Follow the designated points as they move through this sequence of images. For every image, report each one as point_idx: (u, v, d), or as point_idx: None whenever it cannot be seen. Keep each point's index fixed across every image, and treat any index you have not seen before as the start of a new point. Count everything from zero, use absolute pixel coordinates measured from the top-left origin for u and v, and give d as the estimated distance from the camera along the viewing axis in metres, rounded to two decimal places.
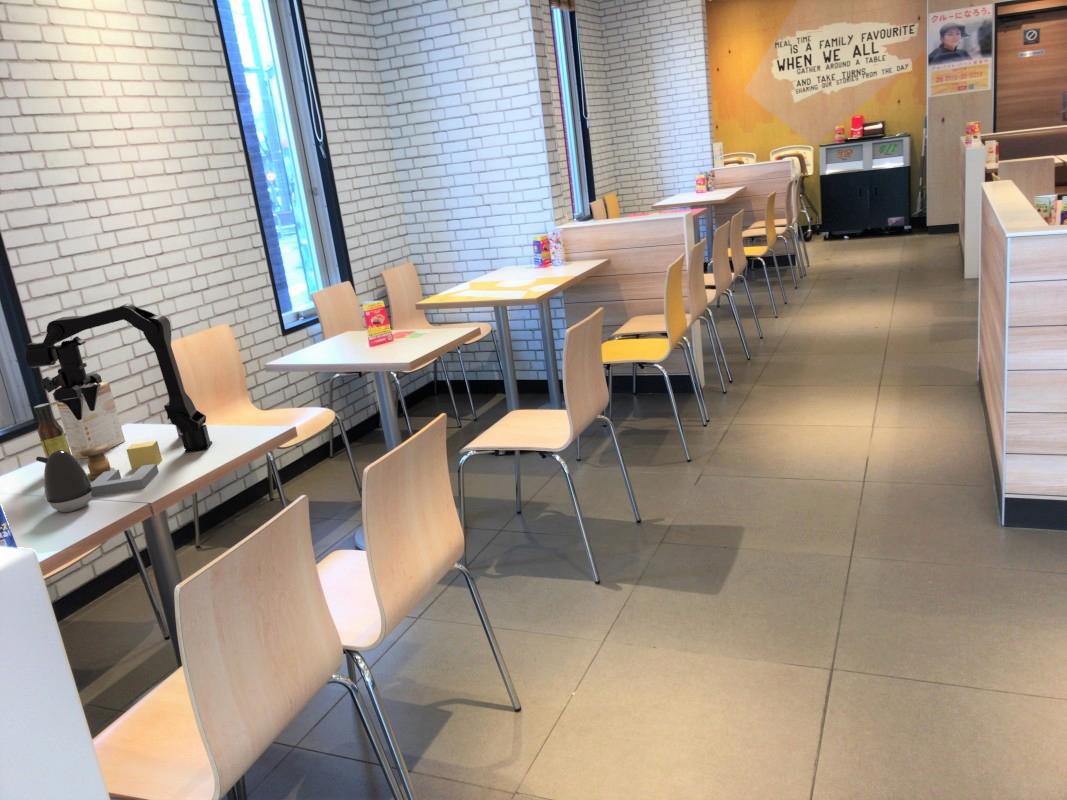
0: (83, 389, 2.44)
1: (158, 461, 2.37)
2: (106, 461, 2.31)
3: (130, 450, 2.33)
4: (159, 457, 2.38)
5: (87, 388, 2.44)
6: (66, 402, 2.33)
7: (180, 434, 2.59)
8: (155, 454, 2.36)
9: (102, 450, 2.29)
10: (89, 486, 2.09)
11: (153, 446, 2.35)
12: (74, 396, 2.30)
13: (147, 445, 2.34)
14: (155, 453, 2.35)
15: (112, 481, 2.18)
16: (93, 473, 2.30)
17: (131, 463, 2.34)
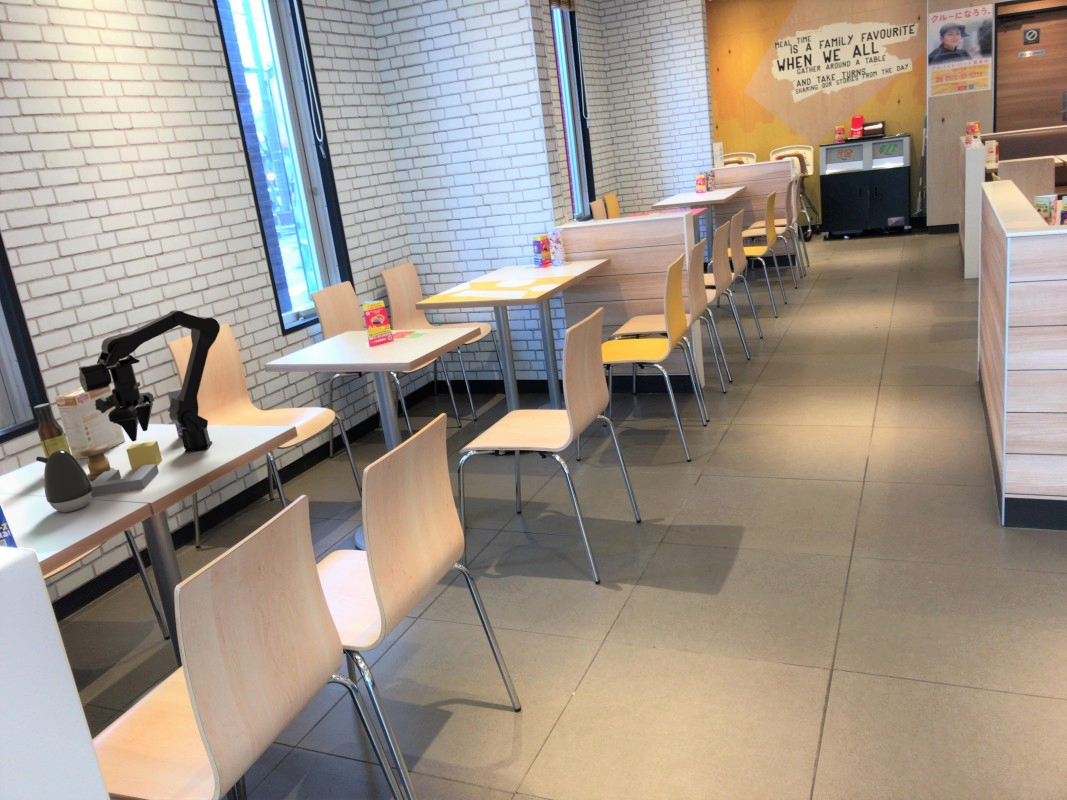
0: (136, 409, 2.38)
1: (158, 461, 2.37)
2: (106, 461, 2.31)
3: (130, 450, 2.33)
4: (159, 457, 2.38)
5: (140, 408, 2.38)
6: (121, 423, 2.27)
7: (180, 434, 2.59)
8: (155, 454, 2.36)
9: (102, 450, 2.29)
10: (89, 486, 2.09)
11: (153, 446, 2.35)
12: (130, 417, 2.24)
13: (147, 445, 2.34)
14: (155, 453, 2.35)
15: (112, 481, 2.18)
16: (93, 473, 2.30)
17: (131, 463, 2.34)
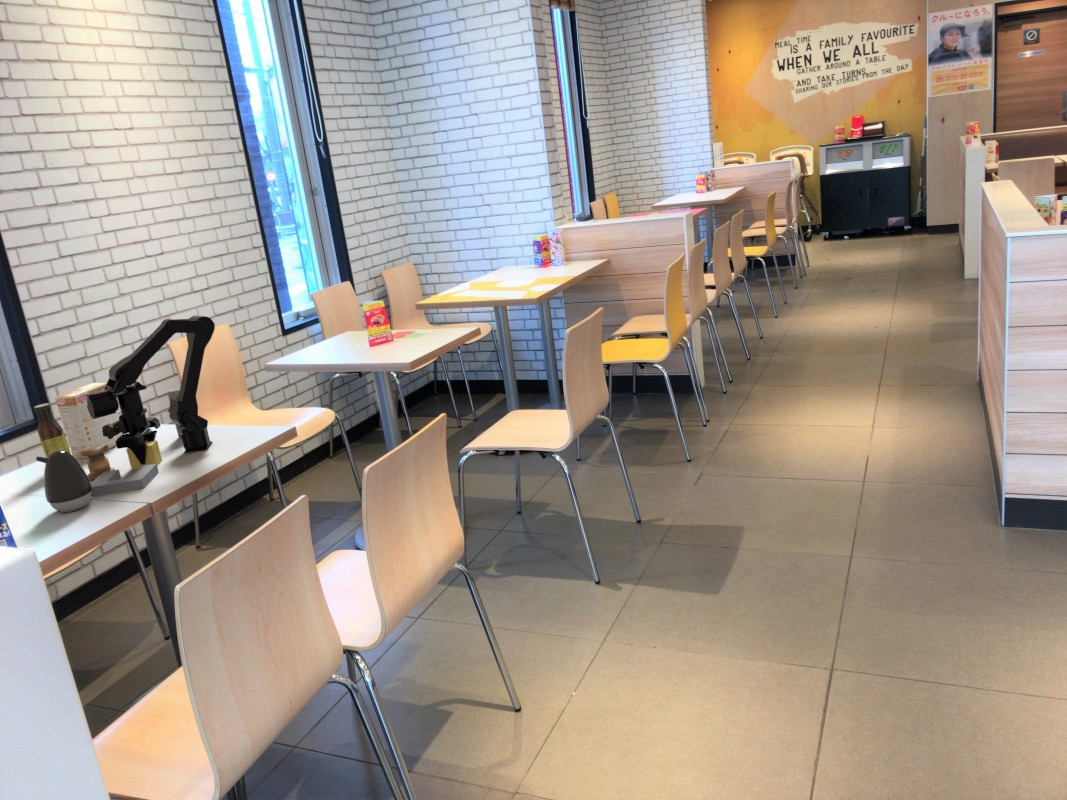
0: None
1: (158, 461, 2.37)
2: (106, 461, 2.31)
3: (130, 450, 2.33)
4: (159, 457, 2.38)
5: (144, 435, 2.38)
6: (130, 447, 2.31)
7: (180, 434, 2.59)
8: (155, 454, 2.35)
9: (102, 450, 2.29)
10: (89, 486, 2.09)
11: (153, 446, 2.35)
12: (137, 444, 2.26)
13: (147, 445, 2.34)
14: (155, 453, 2.35)
15: (112, 481, 2.18)
16: (93, 473, 2.30)
17: (131, 463, 2.34)
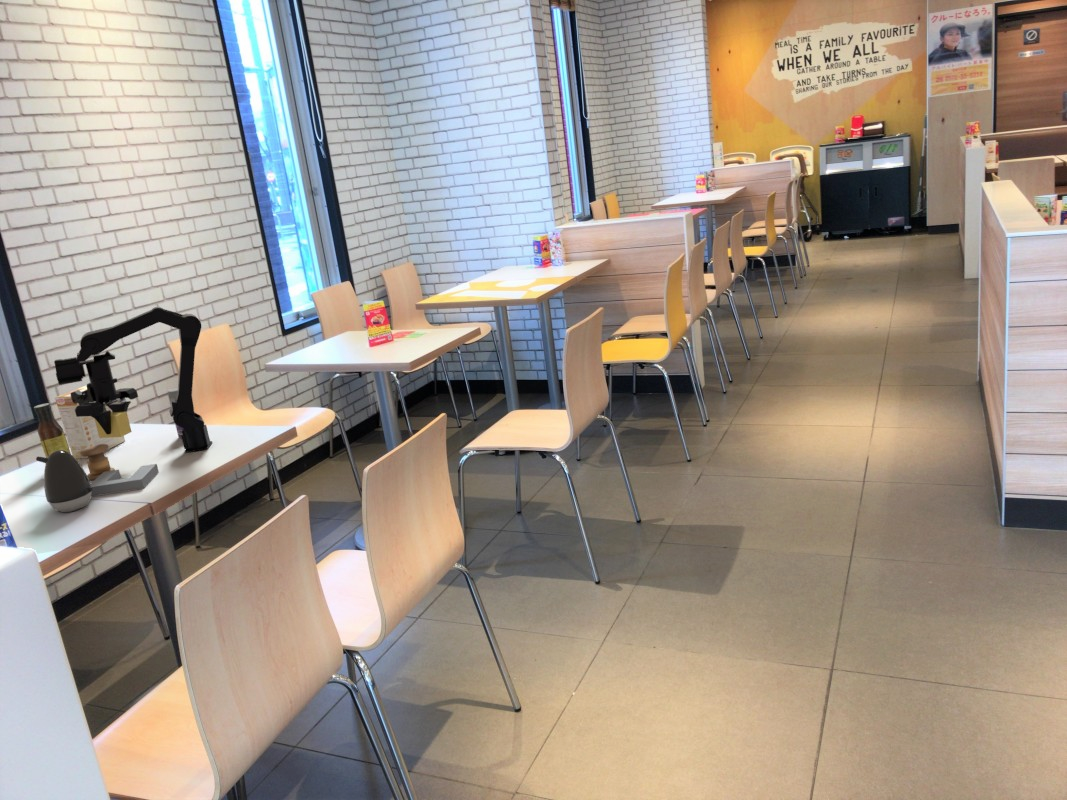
0: (112, 406, 2.37)
1: (124, 432, 2.34)
2: (106, 461, 2.31)
3: None
4: (126, 428, 2.36)
5: (116, 405, 2.37)
6: (94, 416, 2.30)
7: (180, 434, 2.59)
8: (121, 425, 2.33)
9: (102, 450, 2.29)
10: (89, 486, 2.09)
11: (118, 417, 2.32)
12: (92, 414, 2.24)
13: (113, 415, 2.33)
14: (120, 424, 2.33)
15: (112, 481, 2.18)
16: (93, 473, 2.30)
17: (98, 431, 2.34)
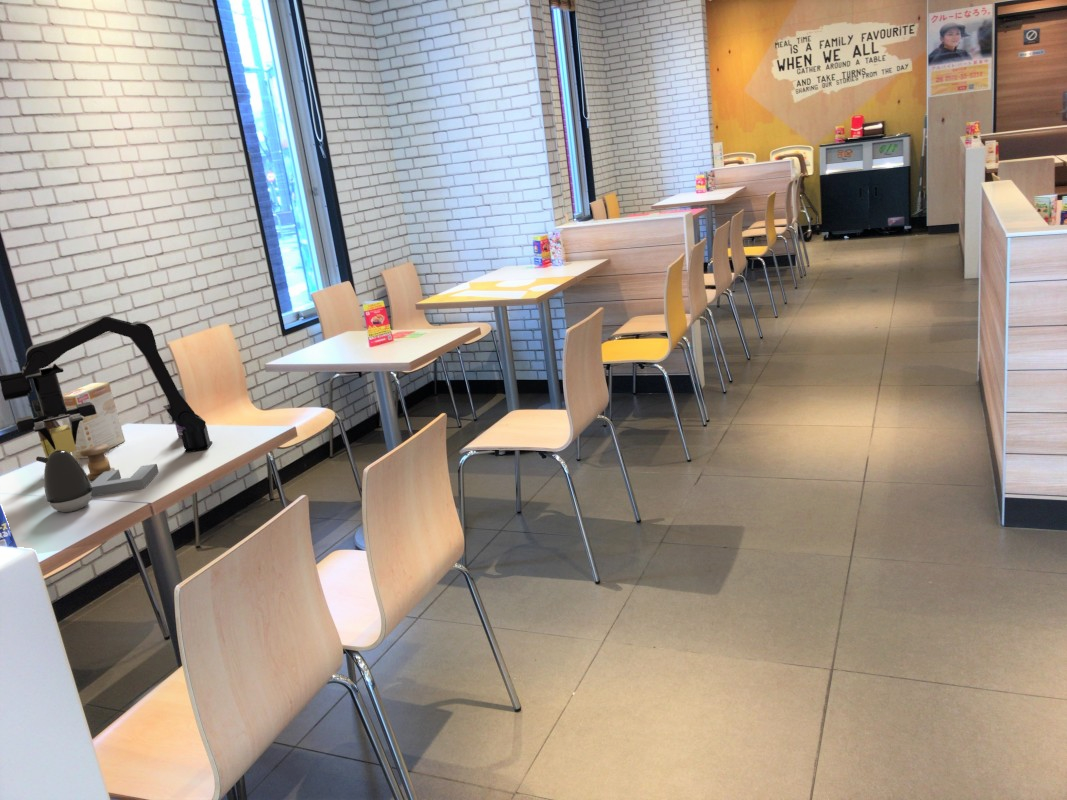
0: (69, 420, 2.29)
1: None
2: (106, 461, 2.31)
3: (50, 431, 2.28)
4: (69, 447, 2.26)
5: (70, 420, 2.28)
6: None
7: (180, 434, 2.59)
8: (59, 443, 2.24)
9: (102, 450, 2.29)
10: (89, 486, 2.09)
11: (55, 435, 2.23)
12: (18, 430, 2.19)
13: (55, 432, 2.25)
14: (58, 442, 2.24)
15: (112, 481, 2.18)
16: (93, 473, 2.30)
17: None
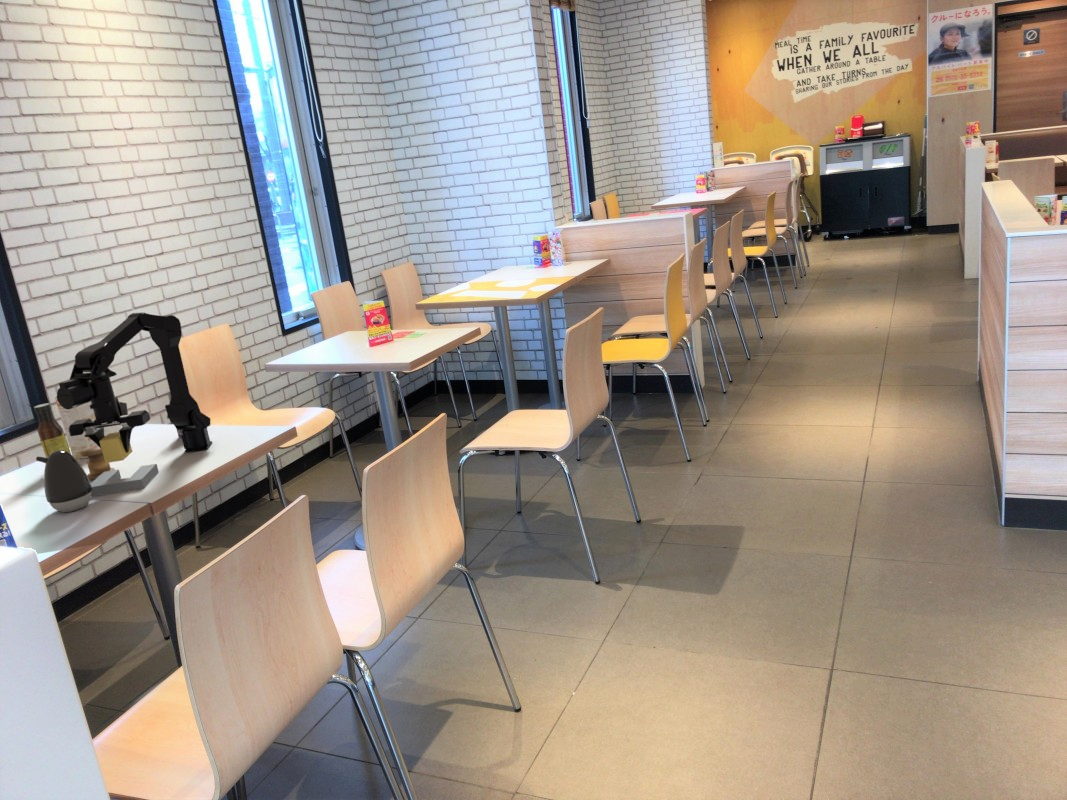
0: None
1: (110, 459, 2.18)
2: None
3: None
4: (115, 456, 2.18)
5: None
6: None
7: (180, 434, 2.59)
8: (106, 451, 2.18)
9: None
10: (89, 486, 2.09)
11: (103, 442, 2.17)
12: (70, 434, 2.16)
13: (105, 438, 2.18)
14: (105, 450, 2.17)
15: (112, 481, 2.18)
16: (93, 473, 2.30)
17: None
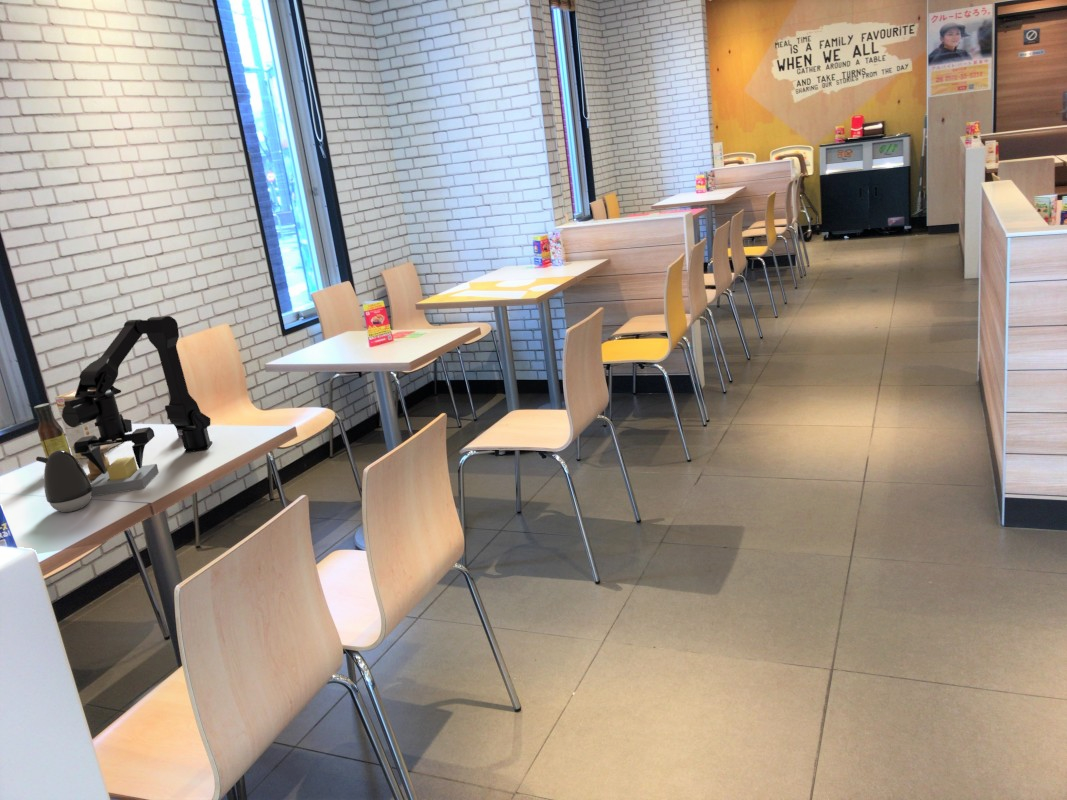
0: None
1: None
2: (106, 461, 2.31)
3: None
4: None
5: None
6: None
7: (180, 434, 2.59)
8: (114, 478, 2.19)
9: (102, 450, 2.29)
10: (89, 486, 2.09)
11: (110, 469, 2.19)
12: (75, 451, 2.18)
13: (112, 465, 2.20)
14: (113, 476, 2.19)
15: (112, 481, 2.18)
16: (93, 473, 2.30)
17: None
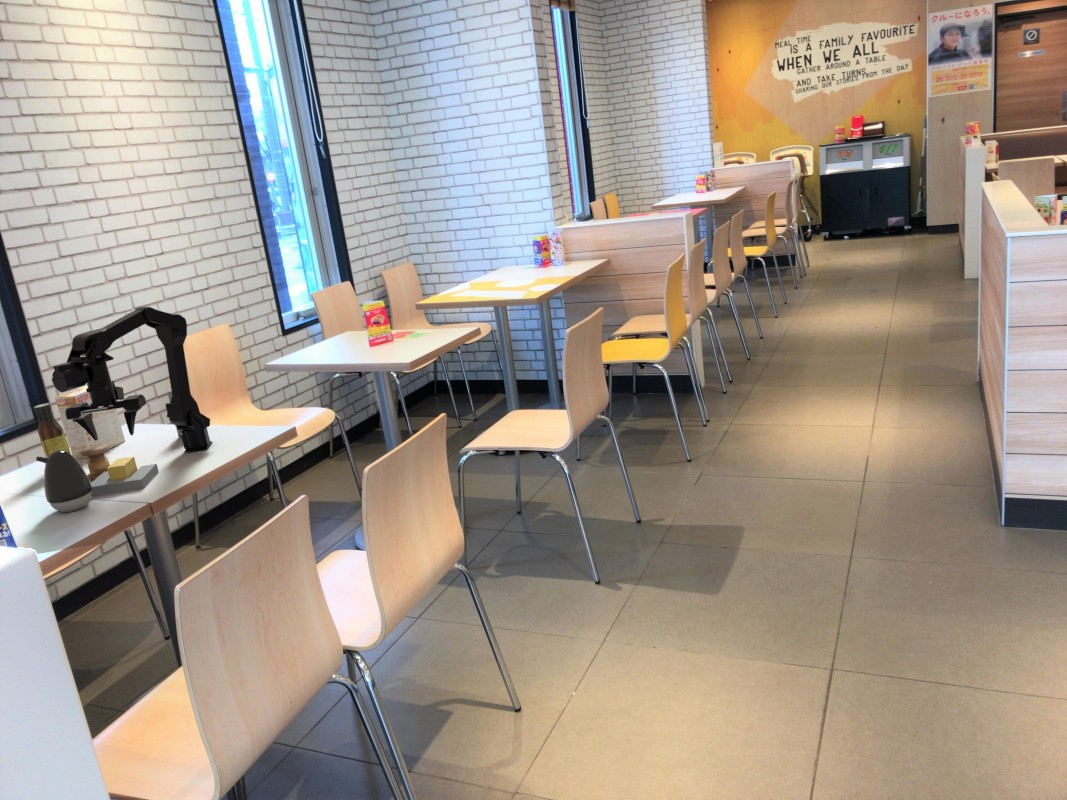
0: None
1: None
2: (106, 461, 2.31)
3: None
4: None
5: None
6: None
7: (180, 434, 2.59)
8: (114, 478, 2.19)
9: (102, 450, 2.29)
10: (89, 486, 2.09)
11: (110, 469, 2.19)
12: (66, 417, 2.18)
13: (112, 465, 2.20)
14: (113, 476, 2.19)
15: (112, 481, 2.18)
16: (93, 473, 2.30)
17: None
